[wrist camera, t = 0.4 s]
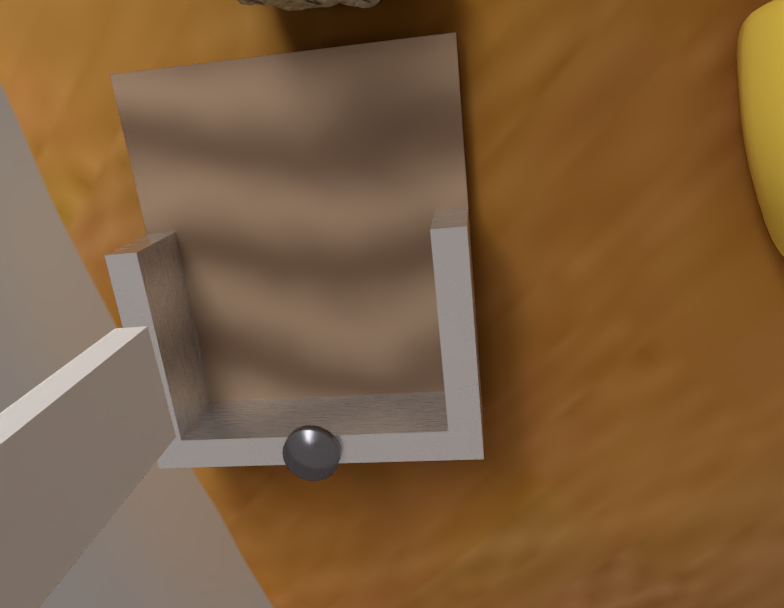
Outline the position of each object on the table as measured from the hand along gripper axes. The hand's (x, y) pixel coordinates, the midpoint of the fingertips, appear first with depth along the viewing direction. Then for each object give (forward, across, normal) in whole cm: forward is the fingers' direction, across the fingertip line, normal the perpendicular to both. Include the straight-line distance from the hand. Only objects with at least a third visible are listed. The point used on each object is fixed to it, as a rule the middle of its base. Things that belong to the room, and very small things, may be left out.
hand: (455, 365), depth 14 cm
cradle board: (+25, -10, -4) cm, 27 cm away
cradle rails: (+24, -10, -8) cm, 27 cm away
